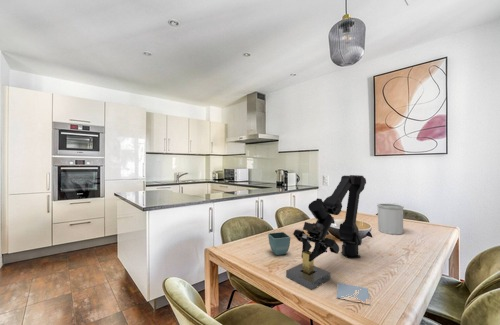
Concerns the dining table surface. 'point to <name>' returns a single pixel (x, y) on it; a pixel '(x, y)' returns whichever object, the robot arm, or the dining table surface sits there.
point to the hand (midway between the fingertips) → (305, 259)
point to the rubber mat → (352, 291)
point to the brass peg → (307, 263)
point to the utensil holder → (390, 218)
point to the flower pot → (279, 242)
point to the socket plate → (308, 276)
